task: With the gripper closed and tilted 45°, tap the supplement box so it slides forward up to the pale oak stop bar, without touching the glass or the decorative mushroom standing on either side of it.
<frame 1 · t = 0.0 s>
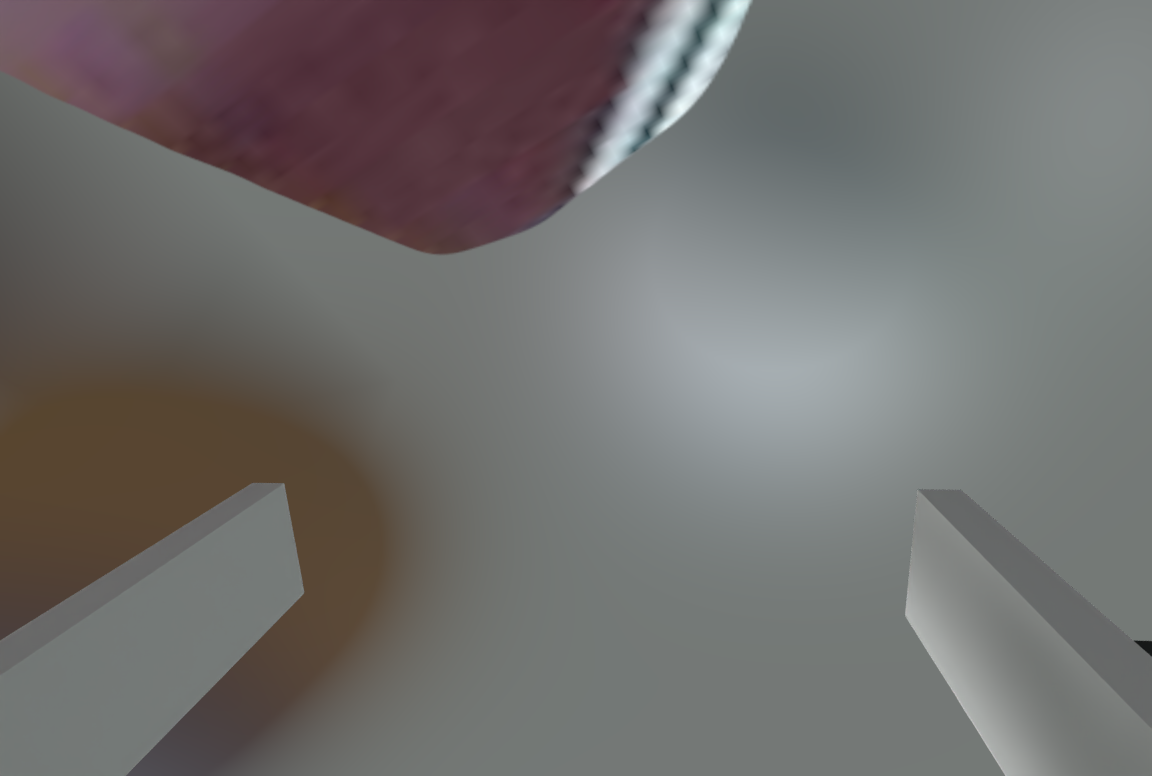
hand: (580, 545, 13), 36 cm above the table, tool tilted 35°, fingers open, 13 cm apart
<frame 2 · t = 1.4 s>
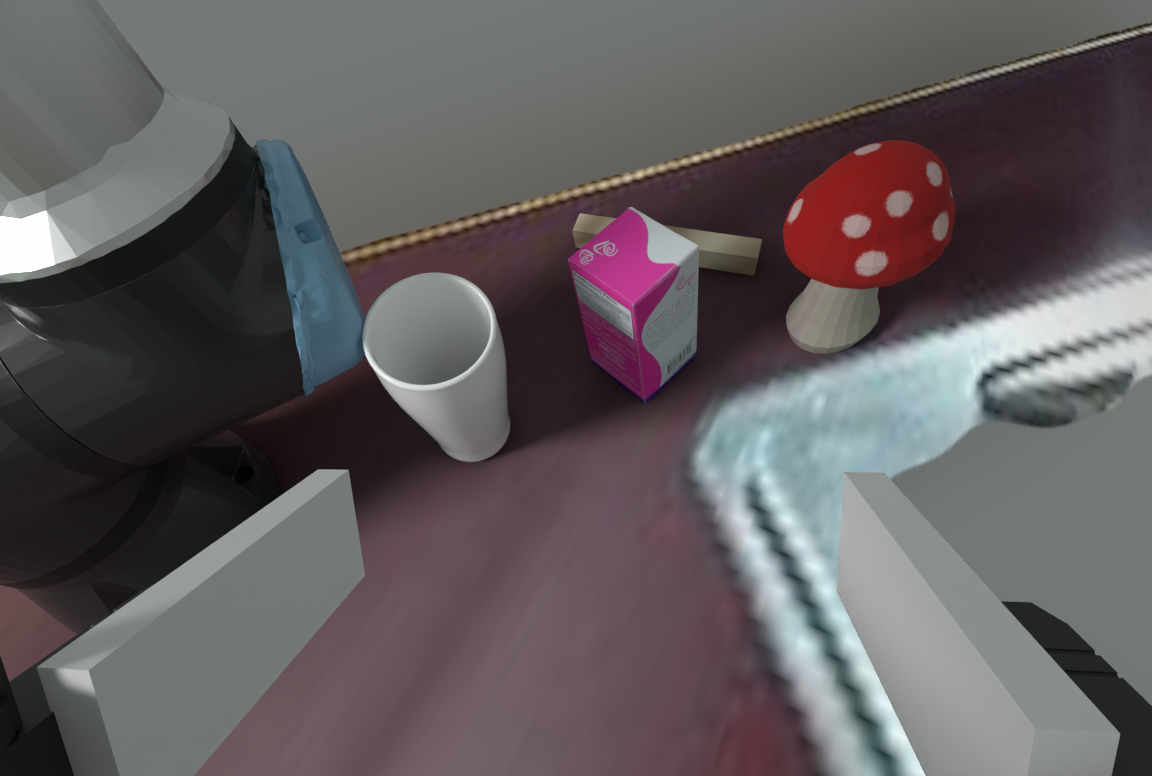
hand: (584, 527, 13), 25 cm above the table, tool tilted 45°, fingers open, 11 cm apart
stop bar: (664, 252, 50), on the table
supplement box: (642, 359, 45), on the table
drinking glass: (474, 429, 44), on the table, touching arm
decorative mushroom: (827, 326, 45), on the table
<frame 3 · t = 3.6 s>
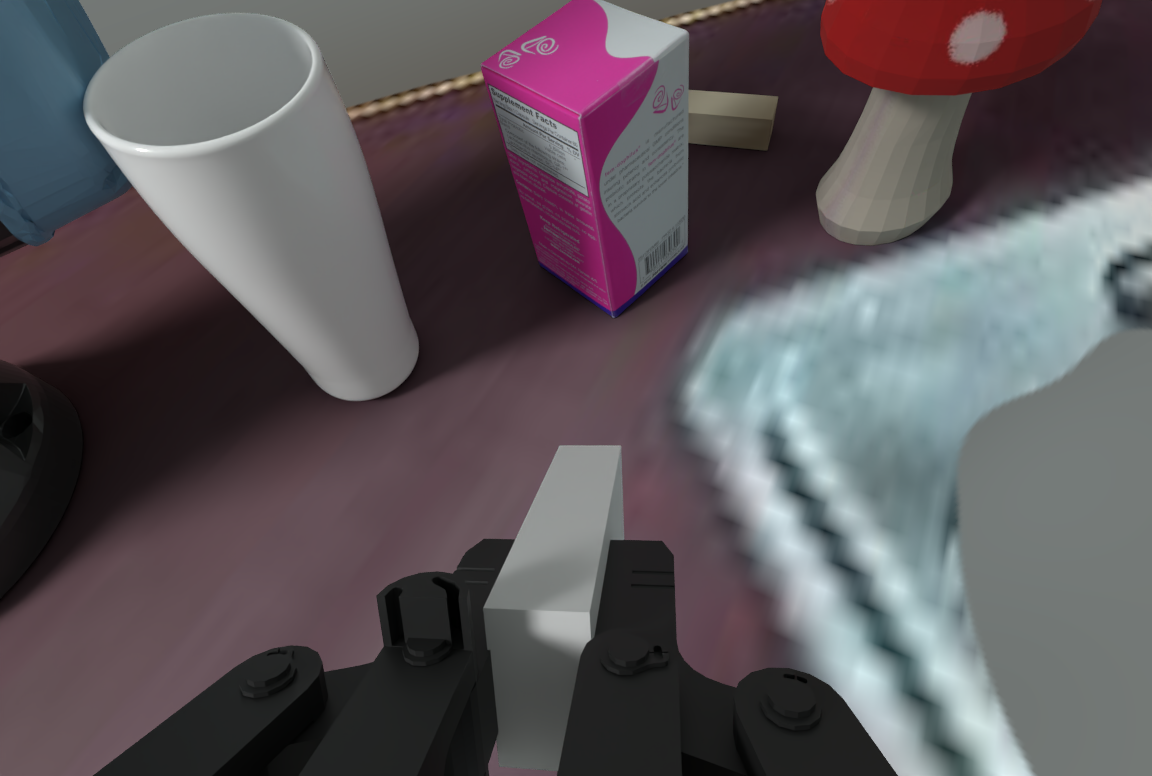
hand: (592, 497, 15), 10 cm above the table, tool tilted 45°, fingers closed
stop bar: (643, 127, 37), on the table
supplement box: (611, 261, 32), on the table
drinking glass: (369, 361, 30), on the table, touching arm
decorative mushroom: (874, 210, 31), on the table
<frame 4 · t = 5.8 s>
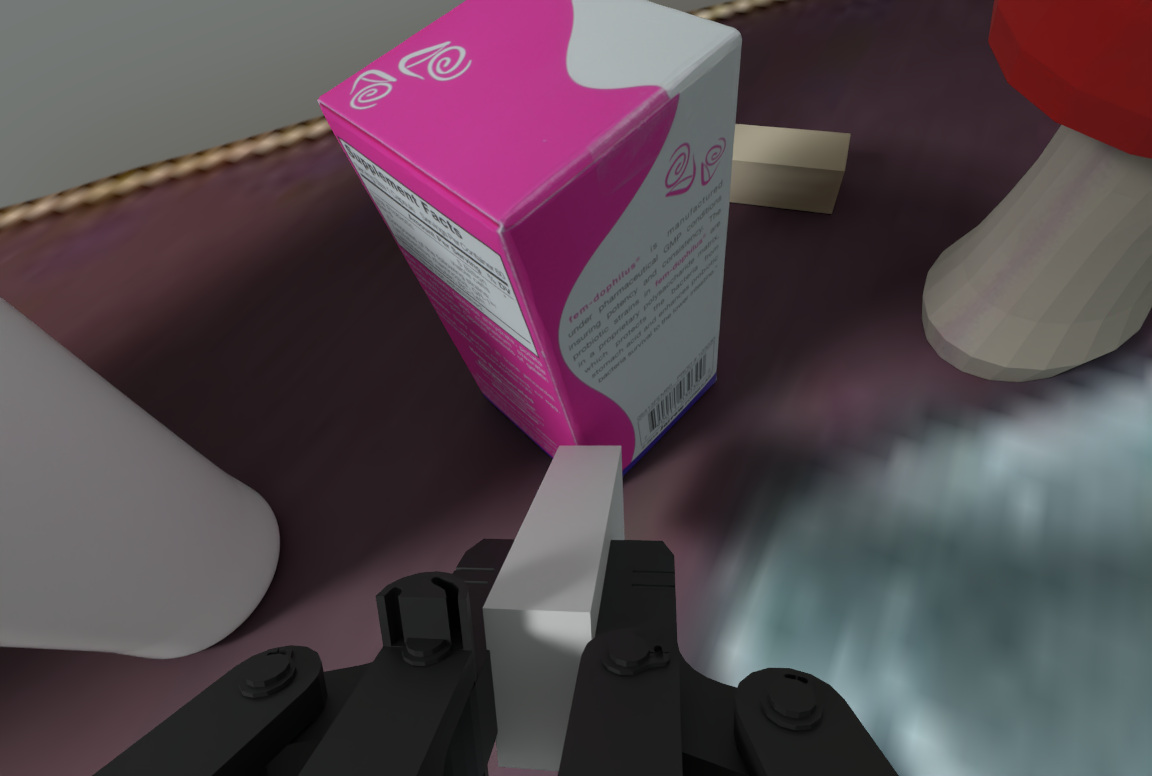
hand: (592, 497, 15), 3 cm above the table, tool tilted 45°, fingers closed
stop bar: (644, 174, 25), on the table
supplement box: (595, 391, 21), on the table, touching gripper
drinking glass: (211, 570, 19), on the table
decorative mushroom: (1010, 318, 20), on the table
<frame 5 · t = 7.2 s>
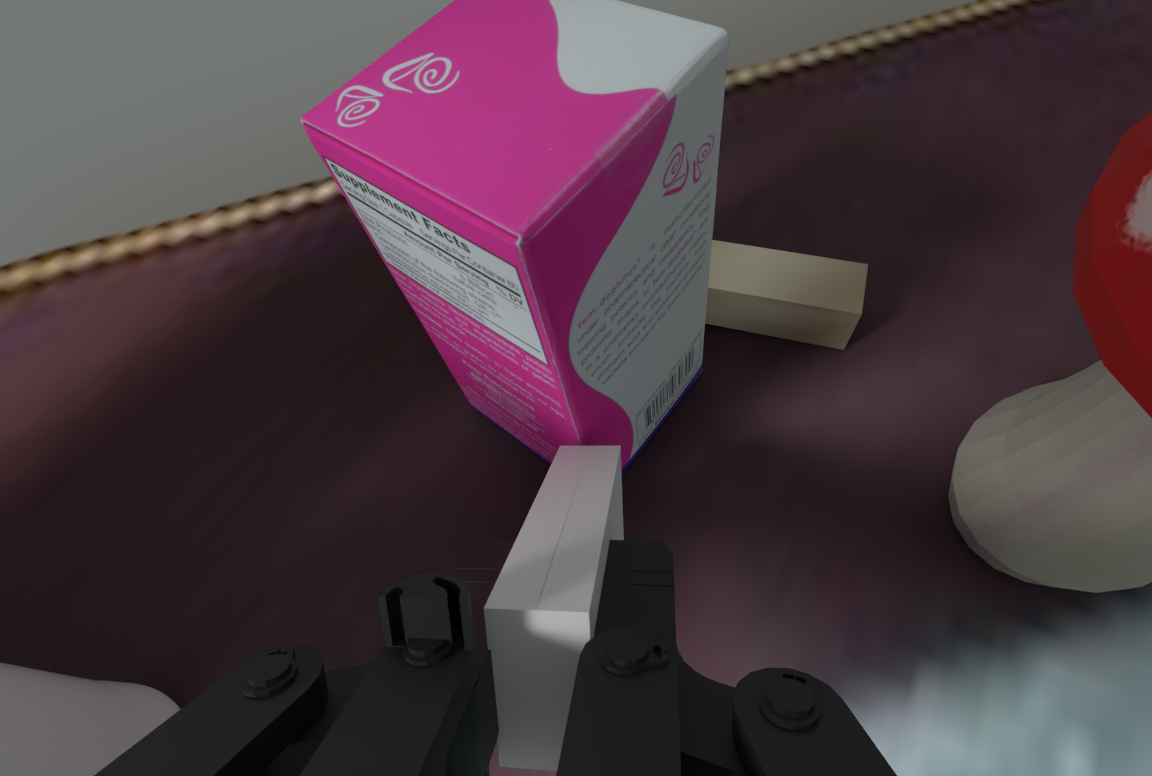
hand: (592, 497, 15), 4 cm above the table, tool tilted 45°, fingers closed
stop bar: (632, 286, 22), on the table
supplement box: (583, 392, 21), on the table, touching gripper, stop bar
decorative mushroom: (1049, 497, 17), on the table
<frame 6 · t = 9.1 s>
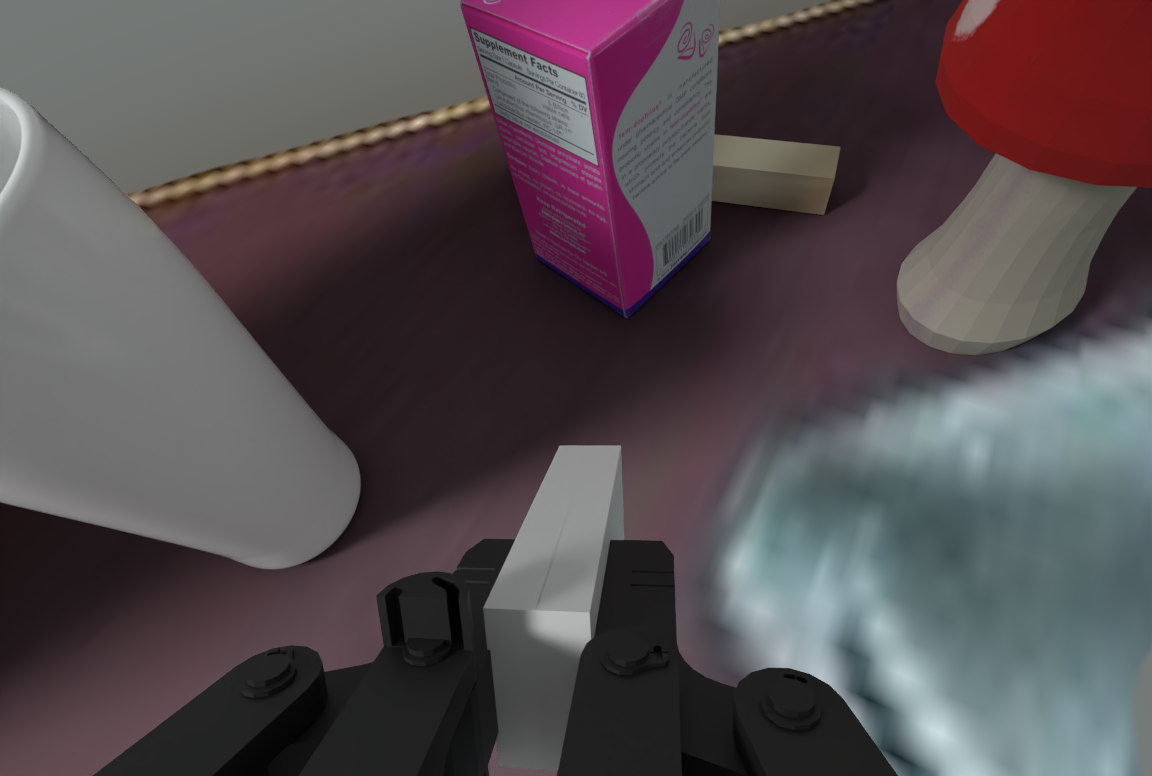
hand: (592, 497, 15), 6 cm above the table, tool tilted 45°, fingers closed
stop bar: (663, 179, 29), on the table
supplement box: (620, 253, 27), on the table
drinking glass: (300, 502, 23), on the table
decorative mushroom: (972, 303, 24), on the table
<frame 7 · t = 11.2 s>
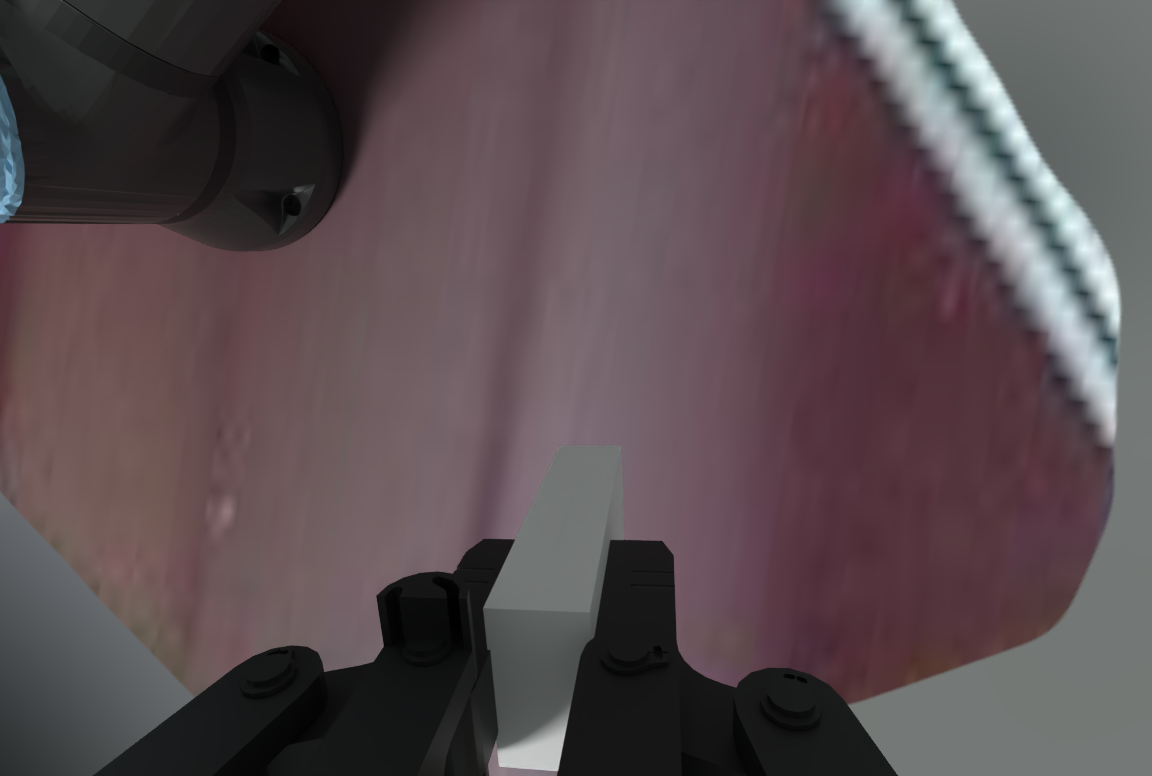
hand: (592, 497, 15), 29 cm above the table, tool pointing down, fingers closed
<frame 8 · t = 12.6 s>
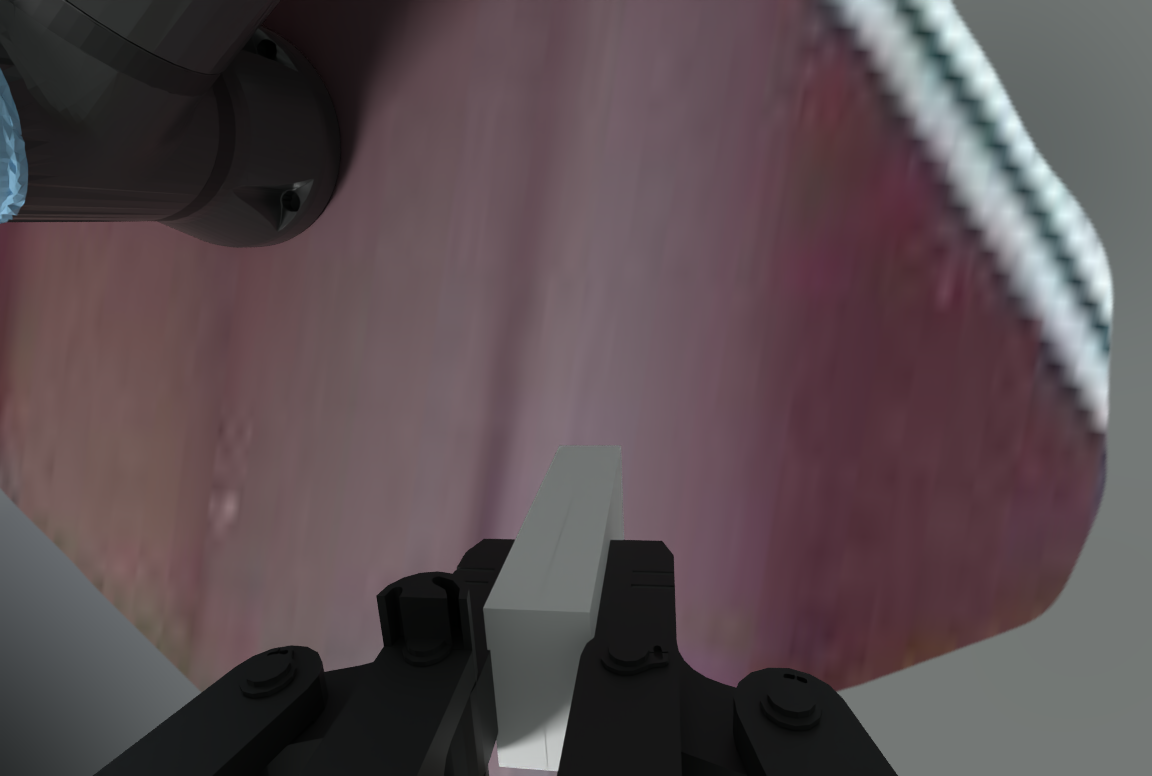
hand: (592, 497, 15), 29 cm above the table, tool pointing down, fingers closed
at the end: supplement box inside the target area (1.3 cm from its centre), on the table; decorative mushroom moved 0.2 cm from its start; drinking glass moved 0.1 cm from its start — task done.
